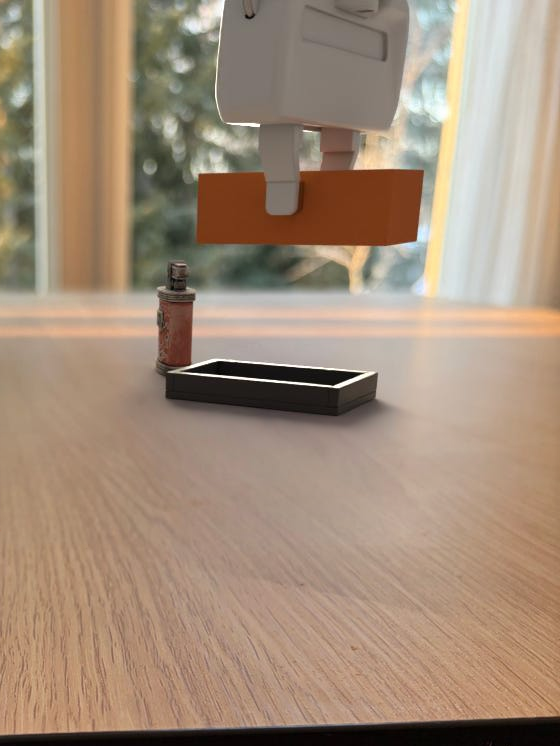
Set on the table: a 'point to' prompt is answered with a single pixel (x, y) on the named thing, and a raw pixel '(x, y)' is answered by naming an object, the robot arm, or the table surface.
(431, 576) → the table surface
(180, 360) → the lighter
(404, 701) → the table surface
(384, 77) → the robot arm
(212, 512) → the table surface
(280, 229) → the block
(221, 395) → the frame
